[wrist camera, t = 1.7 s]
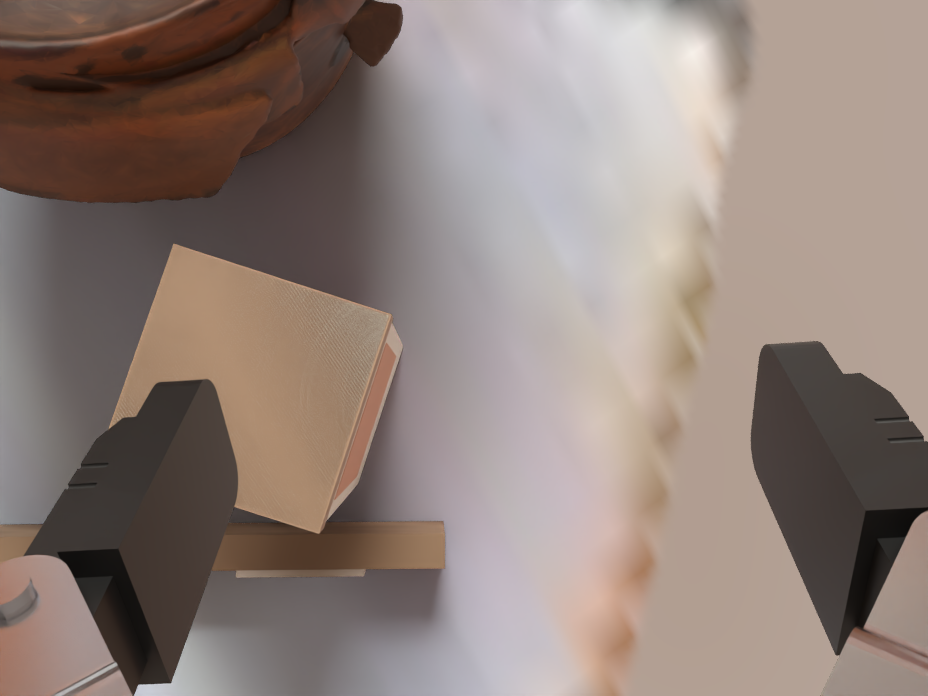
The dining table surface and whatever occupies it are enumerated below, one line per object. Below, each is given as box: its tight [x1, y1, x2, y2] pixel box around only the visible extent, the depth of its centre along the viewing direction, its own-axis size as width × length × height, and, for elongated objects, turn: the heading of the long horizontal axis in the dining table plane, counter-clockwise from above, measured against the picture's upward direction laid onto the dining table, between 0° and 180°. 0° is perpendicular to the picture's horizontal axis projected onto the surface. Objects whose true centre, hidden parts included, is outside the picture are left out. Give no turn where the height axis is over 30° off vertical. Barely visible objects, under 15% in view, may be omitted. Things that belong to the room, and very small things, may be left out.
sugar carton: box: [108, 244, 403, 534], centre depth 27 cm, size 6×6×12 cm
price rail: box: [0, 521, 445, 578], centre depth 31 cm, size 24×2×3 cm, turn 90°
